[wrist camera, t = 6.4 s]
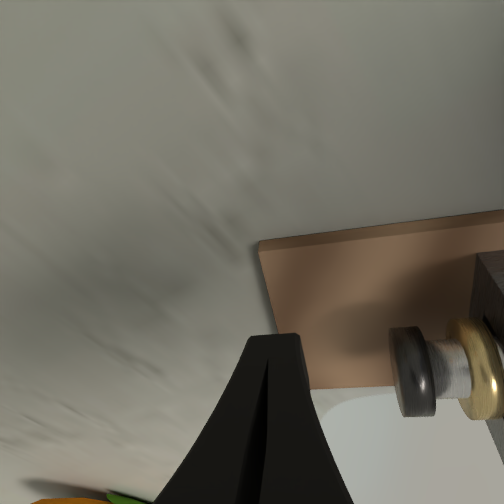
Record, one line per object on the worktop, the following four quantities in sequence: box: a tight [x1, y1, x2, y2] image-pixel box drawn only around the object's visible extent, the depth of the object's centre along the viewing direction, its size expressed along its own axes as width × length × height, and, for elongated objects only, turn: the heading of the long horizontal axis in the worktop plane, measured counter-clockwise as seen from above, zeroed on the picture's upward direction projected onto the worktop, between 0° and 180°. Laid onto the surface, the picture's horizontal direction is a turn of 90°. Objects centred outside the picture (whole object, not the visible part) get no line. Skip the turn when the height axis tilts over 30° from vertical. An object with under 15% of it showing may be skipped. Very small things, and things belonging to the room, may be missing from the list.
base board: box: [258, 210, 504, 390], centre depth 21 cm, size 16×11×1 cm, turn 102°
